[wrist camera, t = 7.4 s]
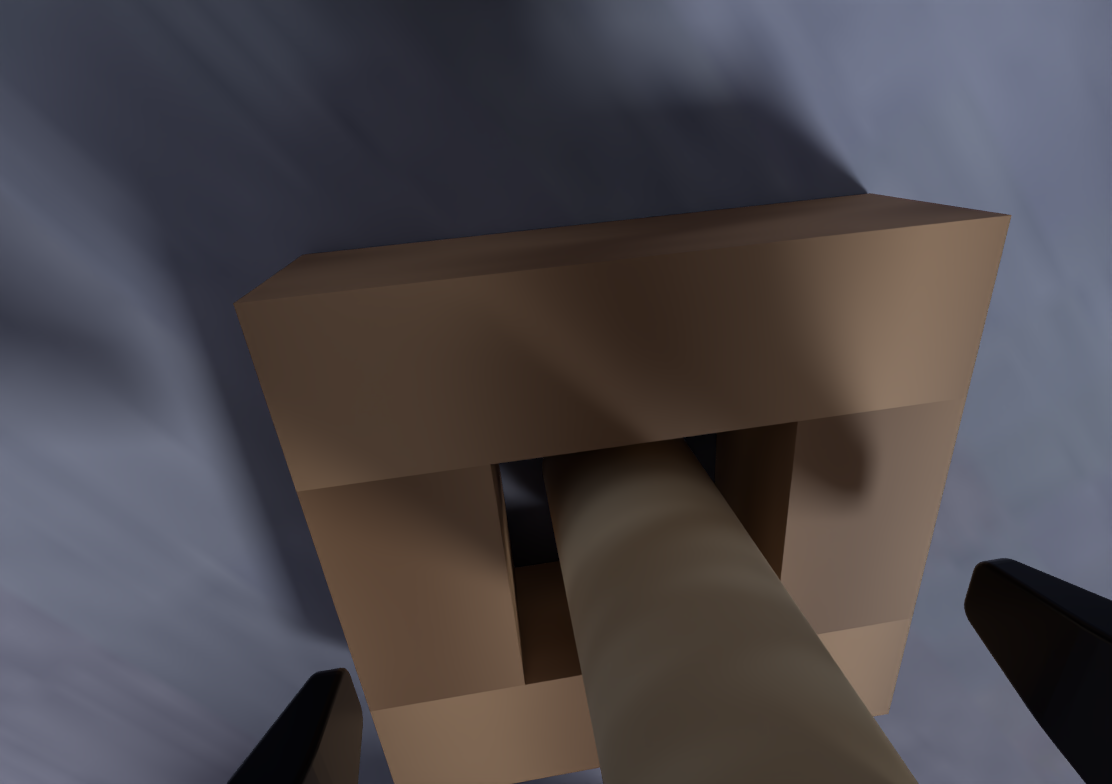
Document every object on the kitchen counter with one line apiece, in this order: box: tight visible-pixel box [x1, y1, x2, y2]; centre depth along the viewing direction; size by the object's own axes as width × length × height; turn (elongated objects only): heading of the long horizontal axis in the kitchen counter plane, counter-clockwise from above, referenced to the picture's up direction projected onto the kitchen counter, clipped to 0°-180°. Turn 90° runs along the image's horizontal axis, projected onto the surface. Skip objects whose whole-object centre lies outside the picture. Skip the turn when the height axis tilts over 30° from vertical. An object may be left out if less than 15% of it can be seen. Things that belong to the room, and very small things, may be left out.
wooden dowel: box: [542, 437, 918, 784], centre depth 8 cm, size 3×3×9 cm
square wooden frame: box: [233, 193, 1011, 784], centre depth 11 cm, size 10×10×3 cm
